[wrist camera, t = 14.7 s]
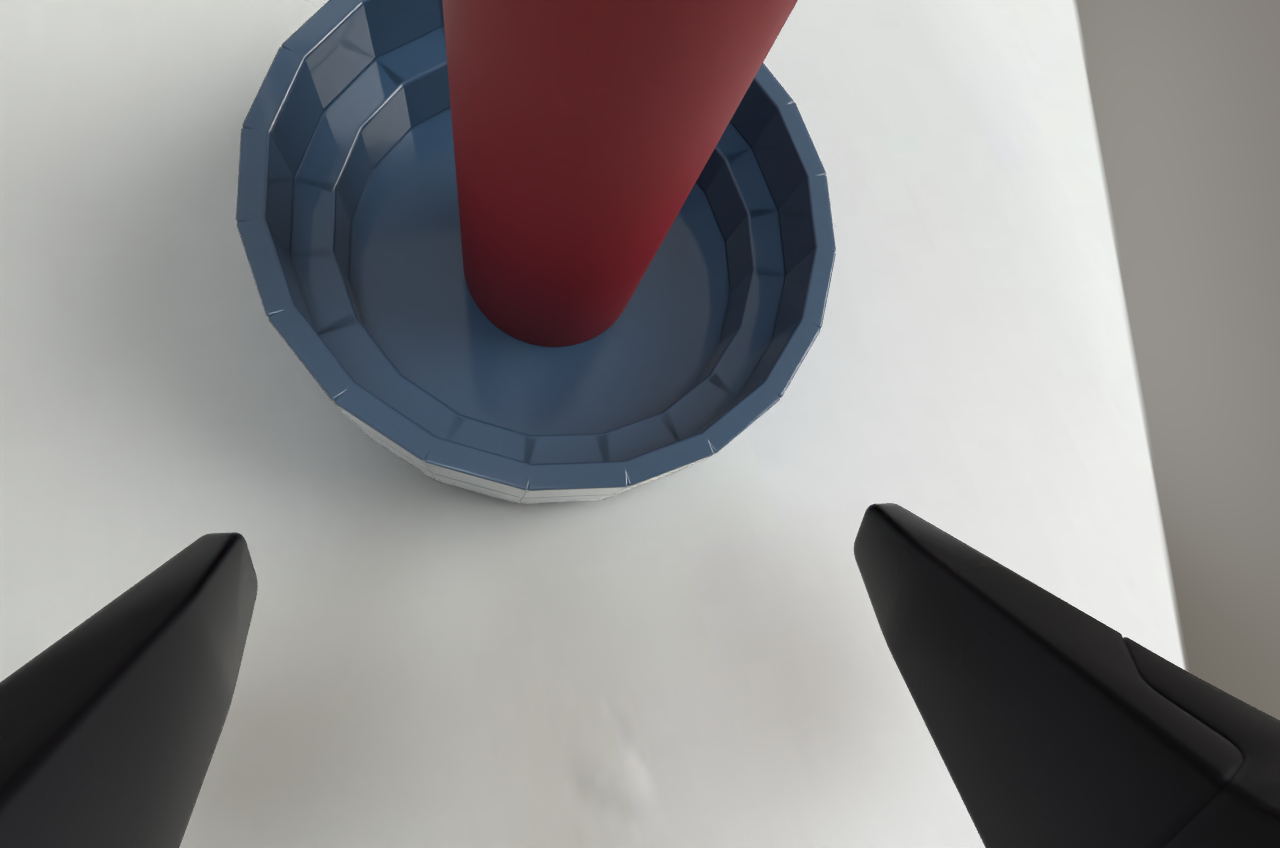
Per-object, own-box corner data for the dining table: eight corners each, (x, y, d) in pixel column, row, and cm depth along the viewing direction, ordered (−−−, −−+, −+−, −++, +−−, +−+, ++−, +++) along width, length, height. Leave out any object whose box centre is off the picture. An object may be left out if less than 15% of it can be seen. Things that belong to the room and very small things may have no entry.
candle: (663, 304, 20) (998, -172, 7) (515, 376, 18) (587, -58, 5) (582, 165, 20) (758, -541, 7) (431, 225, 19) (307, -527, 6)
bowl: (834, 241, 23) (916, 166, 18) (616, 601, 18) (656, 614, 14) (490, -11, 21) (492, -154, 17) (177, 313, 17) (76, 233, 13)
